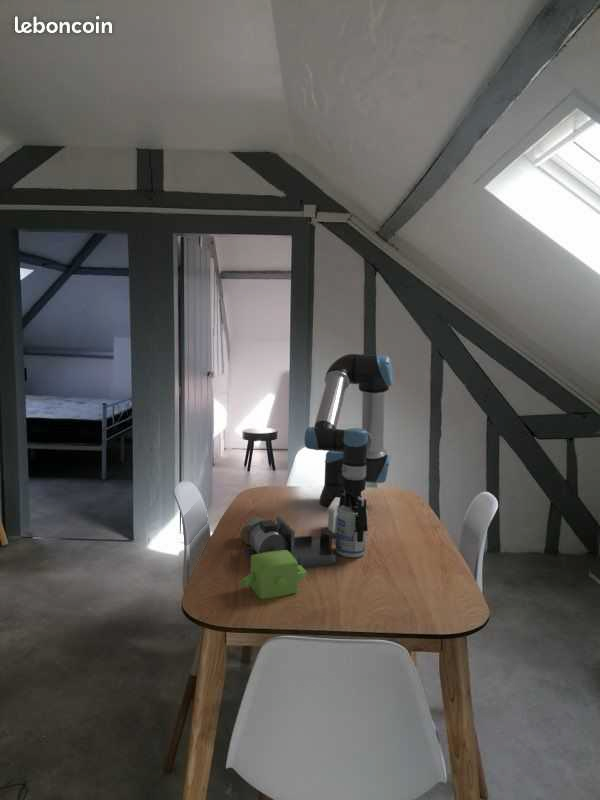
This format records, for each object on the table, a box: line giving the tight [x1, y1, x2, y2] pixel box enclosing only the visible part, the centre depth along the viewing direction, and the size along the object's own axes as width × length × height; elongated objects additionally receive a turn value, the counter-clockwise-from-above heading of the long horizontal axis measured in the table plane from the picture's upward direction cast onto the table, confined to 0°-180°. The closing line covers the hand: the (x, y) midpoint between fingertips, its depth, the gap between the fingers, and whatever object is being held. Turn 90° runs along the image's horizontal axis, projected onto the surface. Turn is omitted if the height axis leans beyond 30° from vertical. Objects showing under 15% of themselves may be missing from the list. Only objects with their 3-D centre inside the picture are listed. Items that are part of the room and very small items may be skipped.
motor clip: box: [242, 516, 341, 569], centre depth 172 cm, size 27×18×12 cm, turn 111°
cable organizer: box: [326, 497, 340, 535], centre depth 196 cm, size 15×11×12 cm
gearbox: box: [240, 550, 308, 600], centre depth 148 cm, size 18×10×10 cm, turn 113°
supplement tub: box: [335, 505, 368, 558], centre depth 177 cm, size 10×10×15 cm
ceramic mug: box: [240, 516, 266, 546], centre depth 184 cm, size 11×8×8 cm
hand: (350, 545), depth 178 cm, fingers closed on supplement tub, 9 cm apart
